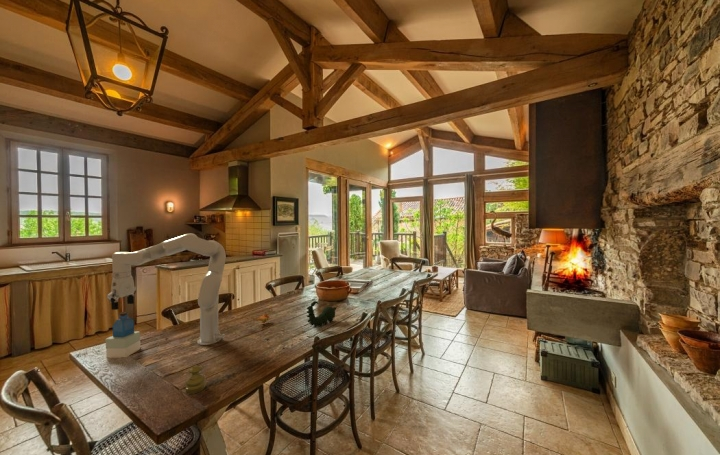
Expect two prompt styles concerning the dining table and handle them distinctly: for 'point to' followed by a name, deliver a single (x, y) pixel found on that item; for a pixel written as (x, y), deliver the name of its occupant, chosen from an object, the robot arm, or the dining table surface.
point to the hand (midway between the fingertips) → (123, 306)
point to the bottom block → (123, 350)
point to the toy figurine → (326, 315)
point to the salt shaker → (195, 380)
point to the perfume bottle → (123, 326)
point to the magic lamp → (263, 317)
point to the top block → (123, 340)
